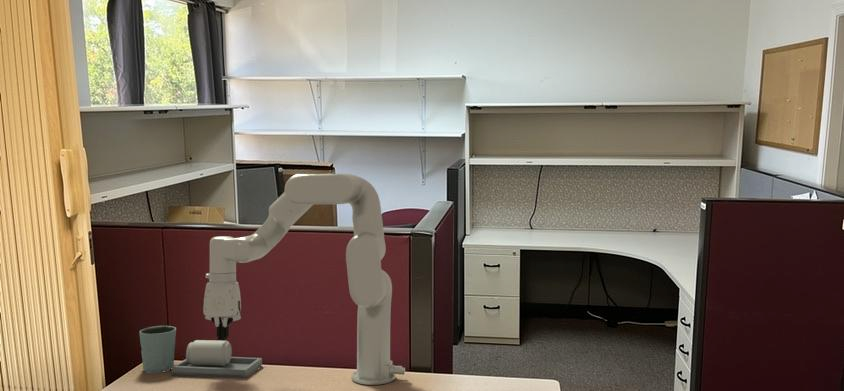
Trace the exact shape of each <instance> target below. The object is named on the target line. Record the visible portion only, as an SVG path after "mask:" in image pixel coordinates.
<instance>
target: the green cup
mask: <svg viewBox="0 0 844 391" xmlns="http://www.w3.org/2000/svg"><path fill="white" fill-rule="evenodd" d="M138 333H139V334H138V335H139V342H140V343H139V344H140V347H141V351H140V352H141V358H142V371H143V370H144V371H145V372H144V371H143V372H144V373H146V372H148V373H147V374H159V372H161V373H164V372H163V371H166V372H168V371H167V370H169V369H171V368H172V366H174V365H175V348H176V346H175V345H176V334H177V327H175V326H172V325H156V326H155V325H154V326H149V327H145V328H142V329H140V330H139V332H138Z"/></svg>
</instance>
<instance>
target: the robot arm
mask: <svg viewBox="0 0 844 391" xmlns="http://www.w3.org/2000/svg"><path fill="white" fill-rule="evenodd" d="M345 204H346V205H347V204H349V205H350V207H351V209H352V216H351V218H352V219H351V220H352V226H353V236H352V238H351V239H350V240H349V242H348V243H347V246H346V248H345V249H346V250H345V262H346V270H347V273H346V274H347V281H348V290H349V294H350V298H351V299H352V301H353V302H354V303H355V305H357V316H356V317H357V324H356V334H357V335H356V370H355V371H354V372H352V373H351V380H352V381H353V382H355V383H356V384H360V385H368V386H369V385H370V386H374V385H376V386H378V385H384V384H389V383H391V382H393V381H394V380H396V375H404V376H405V375H406V367H403V366H402V365H394V364H393V360H391V314H392V313H391V308H392V299H393V298H392V296H393V283H392V279H391V277H390V276H389V274H388V273H387V272H386V271H384V269H382V262H381V261H382V260H383V258H384V257H385V255H386V251H387V248H386V241H385V232H384V224H383V215H382V208H381V200H380V197H379V194H378V192H377V189H376V188H375V187H374V186H373V185H372V183H370V182H369V181H368V180H366V179H364V178H362V177H361V176H358V175H355V174H351V173H321V174H320V173H319V174H318V173H317V174H316V173H315V174H311V173H306V174H305V173H297V174H294V175H292V176H291V177H290V178H288V180H287V181H286V183H285V185H284V191H283V193H282V194H280V196H278V198H277V199H276V200H274V201H273V203H272V204H271V205H270V206H269V207H268V216H267V219H266V220H265V221H264V222H263V223H262V225H261V226H259V228H258V229H257V230H255V232H253V233H252V234H251V235H247V236H241V237H233V236H227V235H226V236H225V235H223V236H222V235H221V236H213V237H212V238H211V239H210V240H209V272H208V273H205V279H208V281H209V282H207V283H206V284H205V289H204V298H203V306H202V307H203V315H204V319H205V320H209V321H211V322H212V323H213V324H214V326H215V327H216V337H217V341H226V340H227V339H228V338H229V337H230V336H229V335H230V333H229V332H230V328H229V327H230V325H231V324H232V322H236V321H239V320H241V319H242V316H241V312H242V302H241V301H242V299H241V290H240V285H239V282H238V281H237V263H238V264H239V263H240V264H245V263H250V262H252V261H255V260H256V261H257V260H260V259H262V258H263V257H265V256H266V255H268V254H269V252H271V250H272V249H274V248H275V247H276V246H277V244H279V243H280V241H281V240H282V239H283V238H284V237H285V235H286V234H287V233H288V232H289V230H290V228H291V227H292V226H293V225H295V223H296V222H298V220H299V219H300V218H301V217H302V216H303V215H304V214H305V213H306V212H308V211H309V209H311V207H313V206H314V205H345Z"/></svg>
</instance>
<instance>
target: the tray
mask: <svg viewBox="0 0 844 391" xmlns="http://www.w3.org/2000/svg"><path fill="white" fill-rule="evenodd" d="M261 365H262V366H263V358H262V357H244V356H243V357H241V356H231V360H230V362H229V363H228V364H227V365H226V366H194V365H192V364H191V363H188V362H187V360H186V358H185V359H183V360H181V361H180V362H177V363H176V364H174V366H172V370H171V376H176V377H198V378H199V377H202V378H217V379H218V378H219V379H221V378H222V379H241V380H243V379H244V380H246V379H248V377H250V376H251V375H253V374H254V373H255V372H256V371H258V370H259V369H260V368H261V367H260V366H261ZM259 367H260V368H259ZM258 368H259V369H258ZM257 369H258V370H257Z"/></svg>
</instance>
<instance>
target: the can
mask: <svg viewBox="0 0 844 391" xmlns="http://www.w3.org/2000/svg"><path fill="white" fill-rule="evenodd" d="M232 354H233V349H232V344H231V343H230V342H229V341H228V340H224V341H223V340H214V339H213V340H208V339H206V340H205V339H201V340H200V339H196V340H194V341H193V342H192V341H191V342H189V343H188V344H187V347H186V351H185V359H186V360H187V362H188V363H191V364H192V365H194V366H226V365H227V364H228V363H229V362H230V360H231V357H233V356H232Z"/></svg>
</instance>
